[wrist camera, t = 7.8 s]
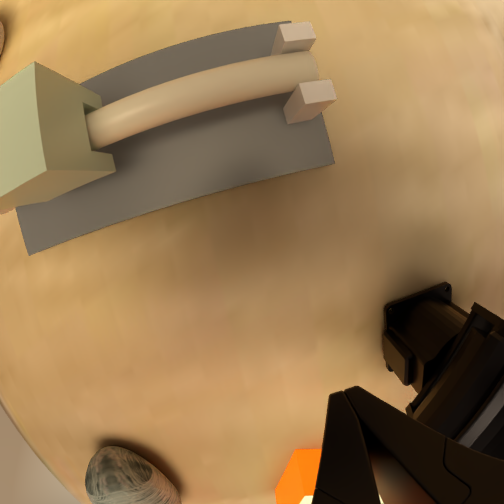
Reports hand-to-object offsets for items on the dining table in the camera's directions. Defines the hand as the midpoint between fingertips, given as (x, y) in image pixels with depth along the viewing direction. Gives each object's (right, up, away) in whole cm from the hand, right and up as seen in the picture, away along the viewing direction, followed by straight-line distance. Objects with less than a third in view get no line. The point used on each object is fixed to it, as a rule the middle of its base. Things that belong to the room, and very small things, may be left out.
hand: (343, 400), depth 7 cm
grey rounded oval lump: (-15, -21, +18) cm, 31 cm away
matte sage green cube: (-13, +10, +7) cm, 17 cm away
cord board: (-10, +12, +10) cm, 18 cm away
